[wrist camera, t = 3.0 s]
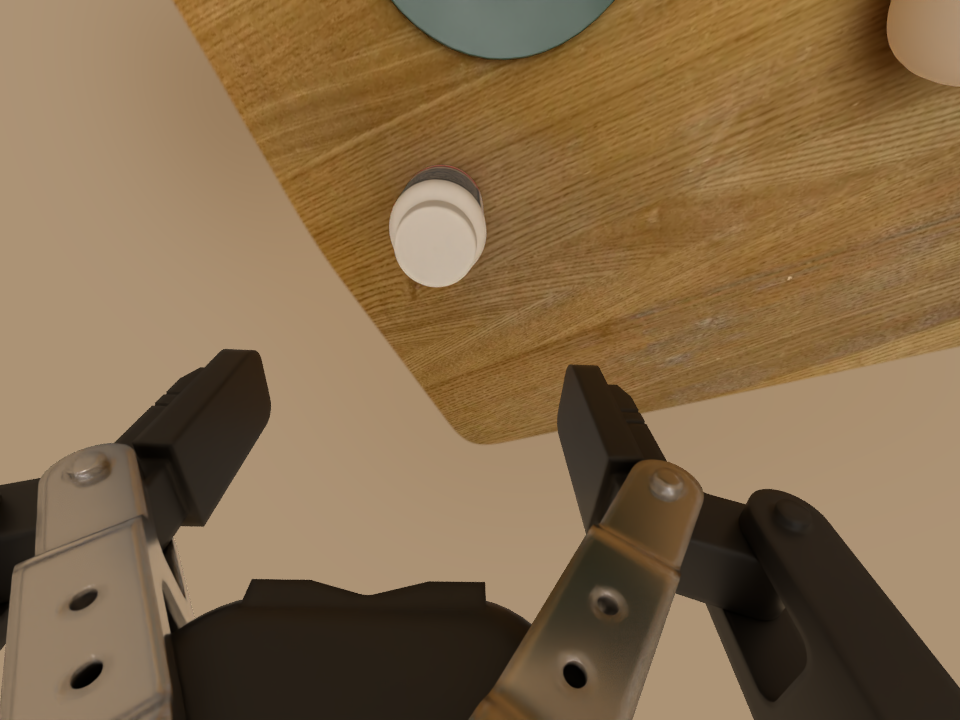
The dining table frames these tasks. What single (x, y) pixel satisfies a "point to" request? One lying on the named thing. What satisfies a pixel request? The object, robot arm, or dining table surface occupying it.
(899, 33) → the white rubber bulb blower
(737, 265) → the dining table surface
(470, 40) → the lid
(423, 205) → the pill bottle
